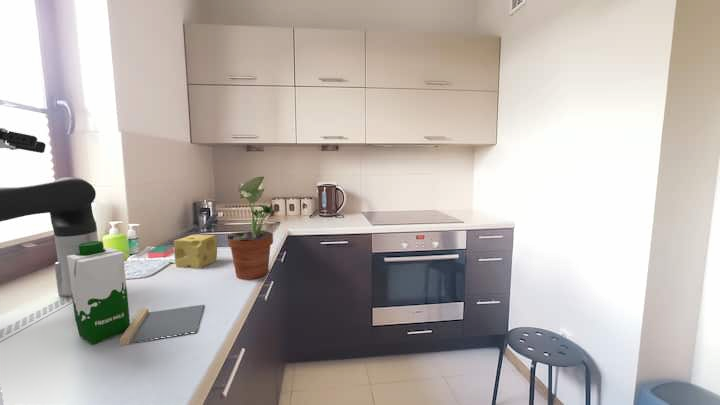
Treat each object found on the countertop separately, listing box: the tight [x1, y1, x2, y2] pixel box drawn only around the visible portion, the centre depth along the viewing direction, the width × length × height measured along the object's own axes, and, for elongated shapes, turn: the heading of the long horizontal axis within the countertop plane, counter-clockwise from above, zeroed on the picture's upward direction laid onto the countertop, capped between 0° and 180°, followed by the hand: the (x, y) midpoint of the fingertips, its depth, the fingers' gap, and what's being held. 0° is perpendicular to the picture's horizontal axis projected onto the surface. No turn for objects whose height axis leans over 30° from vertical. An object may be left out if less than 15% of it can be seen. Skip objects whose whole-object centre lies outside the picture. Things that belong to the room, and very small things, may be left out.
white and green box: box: [67, 240, 131, 346], centre depth 69 cm, size 9×9×20 cm
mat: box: [119, 304, 205, 346], centre depth 74 cm, size 14×14×2 cm
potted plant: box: [227, 176, 275, 281], centre depth 105 cm, size 16×15×35 cm
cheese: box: [173, 234, 218, 269], centre depth 118 cm, size 10×11×10 cm
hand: (40, 145), depth 64 cm, fingers open, 8 cm apart
